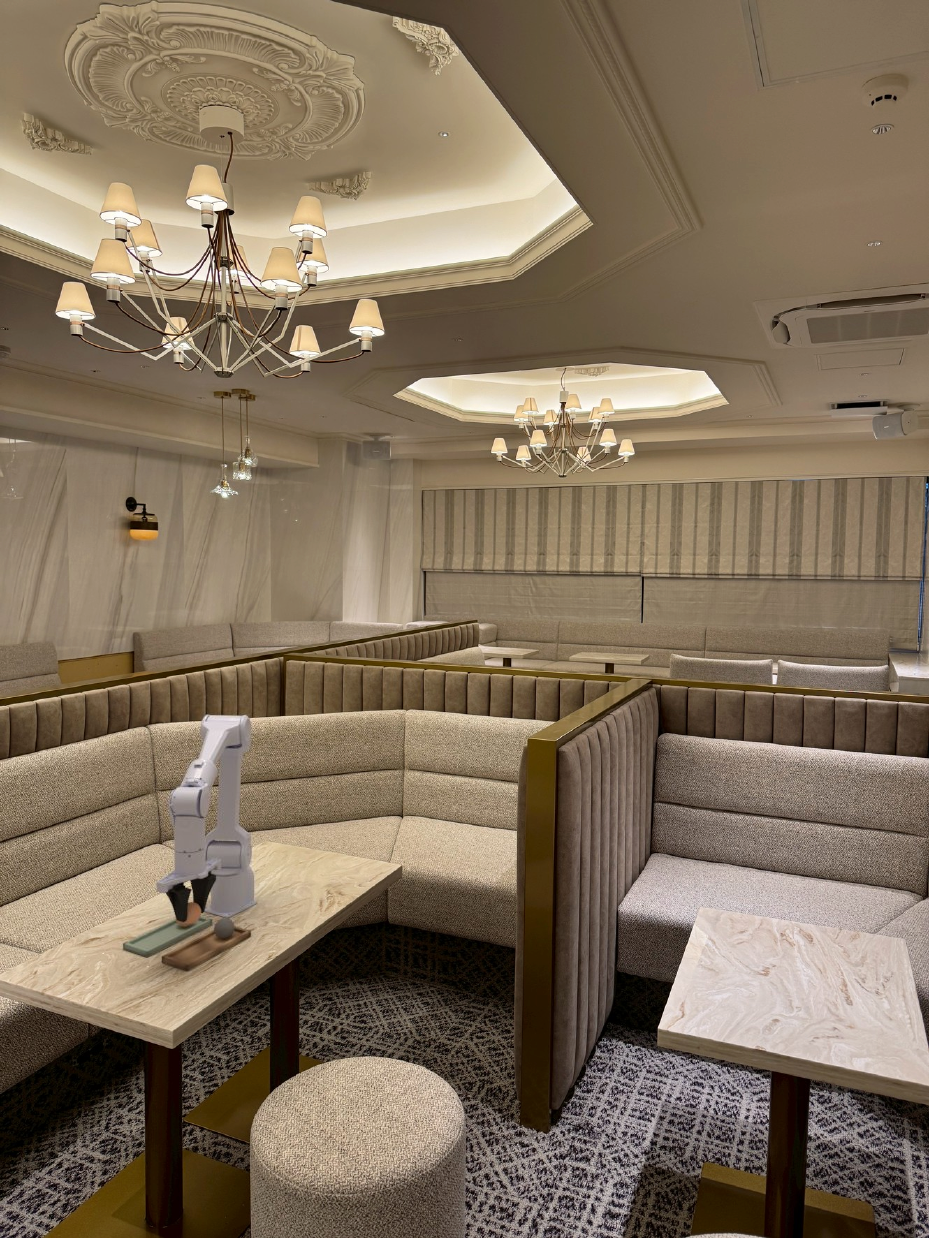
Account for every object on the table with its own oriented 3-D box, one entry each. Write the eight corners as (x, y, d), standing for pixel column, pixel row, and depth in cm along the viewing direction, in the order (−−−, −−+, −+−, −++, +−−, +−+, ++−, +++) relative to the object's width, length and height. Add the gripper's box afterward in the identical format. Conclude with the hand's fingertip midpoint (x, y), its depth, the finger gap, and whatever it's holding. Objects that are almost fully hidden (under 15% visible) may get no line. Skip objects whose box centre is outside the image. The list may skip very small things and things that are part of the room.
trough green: (188, 917, 177) (188, 912, 177) (212, 924, 173) (212, 919, 173) (123, 949, 162) (122, 943, 162) (147, 957, 159) (147, 951, 158)
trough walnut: (226, 928, 172) (226, 923, 172) (250, 936, 168) (250, 930, 168) (161, 962, 157) (161, 956, 157) (187, 971, 153) (187, 965, 153)
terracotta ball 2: (186, 920, 174) (186, 902, 174) (200, 924, 172) (199, 906, 172) (171, 927, 171) (171, 908, 171) (185, 931, 169) (185, 912, 169)
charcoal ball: (224, 931, 169) (224, 913, 169) (238, 936, 167) (238, 917, 167) (209, 939, 166) (209, 920, 165) (224, 943, 164) (224, 924, 163)
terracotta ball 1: (191, 916, 161) (191, 897, 161) (205, 921, 159) (205, 901, 159) (175, 924, 157) (175, 904, 157) (189, 928, 155) (189, 908, 155)
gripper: (175, 863, 149) (175, 935, 150) (232, 840, 162) (232, 906, 163) (148, 856, 152) (149, 926, 153) (206, 834, 165) (207, 899, 166)
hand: (190, 916), depth 158 cm, fingers closed on terracotta ball 1, 4 cm apart
